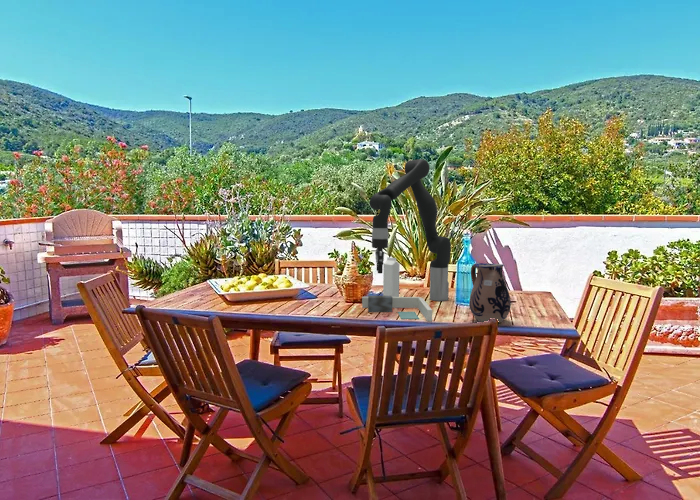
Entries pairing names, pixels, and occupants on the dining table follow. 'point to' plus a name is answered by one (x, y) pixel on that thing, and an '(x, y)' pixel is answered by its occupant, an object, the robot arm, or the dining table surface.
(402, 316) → the pad
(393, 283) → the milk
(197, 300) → the dining table surface
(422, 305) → the arena
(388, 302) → the bar
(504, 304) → the ceramic pitcher
